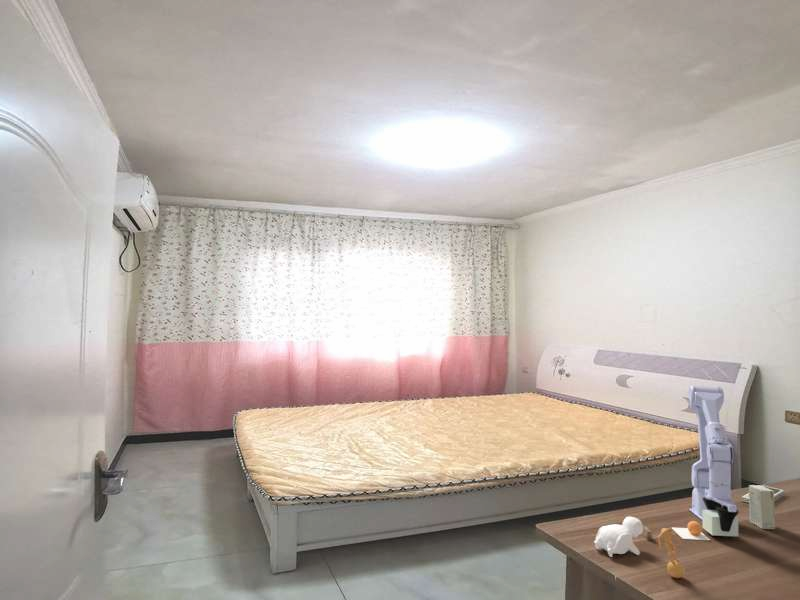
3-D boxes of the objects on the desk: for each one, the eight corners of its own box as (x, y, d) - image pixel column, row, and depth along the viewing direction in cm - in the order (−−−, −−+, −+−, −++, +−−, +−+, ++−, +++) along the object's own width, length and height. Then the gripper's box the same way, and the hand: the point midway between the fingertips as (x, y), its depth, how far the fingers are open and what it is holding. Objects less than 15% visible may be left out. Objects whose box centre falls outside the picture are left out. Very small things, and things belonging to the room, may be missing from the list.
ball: (696, 518, 159) (699, 530, 159) (683, 519, 159) (686, 532, 159) (703, 523, 155) (705, 536, 155) (690, 525, 155) (692, 538, 155)
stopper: (632, 523, 165) (632, 516, 165) (636, 523, 164) (636, 516, 165) (647, 539, 153) (647, 531, 153) (651, 540, 153) (651, 532, 153)
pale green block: (702, 527, 160) (702, 509, 160) (727, 528, 159) (727, 510, 159) (712, 535, 154) (712, 516, 154) (738, 536, 153) (738, 517, 153)
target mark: (671, 527, 162) (671, 527, 162) (697, 529, 161) (697, 528, 161) (682, 539, 154) (682, 538, 154) (710, 540, 153) (710, 539, 153)
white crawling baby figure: (618, 571, 140) (655, 542, 145) (610, 544, 139) (647, 516, 144) (596, 557, 148) (631, 530, 153) (587, 531, 147) (623, 506, 152)
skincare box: (775, 529, 161) (775, 491, 162) (761, 529, 161) (761, 491, 162) (761, 521, 168) (761, 484, 168) (748, 521, 168) (748, 484, 168)
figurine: (672, 584, 127) (672, 536, 128) (651, 573, 133) (651, 527, 133) (693, 577, 131) (693, 530, 131) (672, 566, 136) (672, 522, 137)
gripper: (694, 474, 164) (694, 516, 164) (718, 490, 150) (718, 536, 150) (717, 475, 164) (717, 517, 163) (743, 491, 149) (743, 537, 149)
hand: (719, 526), depth 156 cm, fingers closed on pale green block, 6 cm apart
